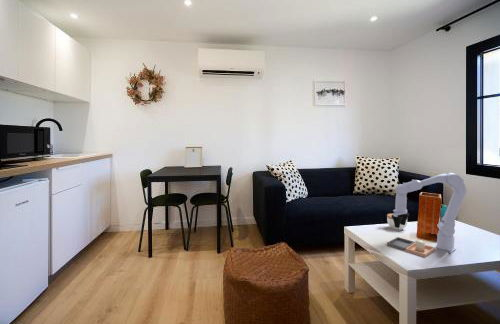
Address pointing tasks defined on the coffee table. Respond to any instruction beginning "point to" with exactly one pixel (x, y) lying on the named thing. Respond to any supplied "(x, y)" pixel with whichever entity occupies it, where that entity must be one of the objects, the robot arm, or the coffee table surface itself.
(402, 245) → the tray
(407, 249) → the tray
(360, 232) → the coffee table surface
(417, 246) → the beige rounded cylinder
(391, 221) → the lidded bowl
